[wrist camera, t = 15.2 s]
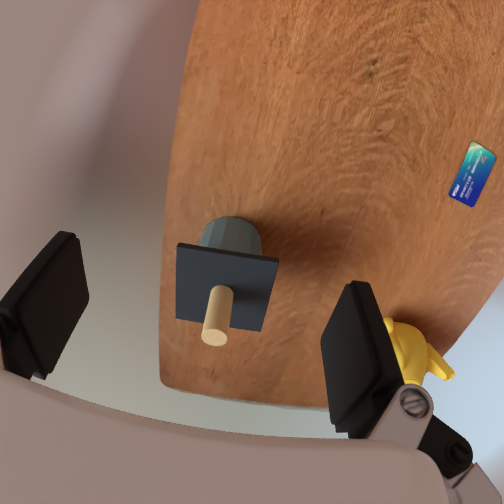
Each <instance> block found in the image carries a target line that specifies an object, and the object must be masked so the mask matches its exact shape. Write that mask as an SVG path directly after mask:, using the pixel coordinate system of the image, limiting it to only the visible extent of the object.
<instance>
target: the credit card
mask: <svg viewBox="0 0 504 504" xmlns="http://www.w3.org/2000/svg"><path fill="white" fill-rule="evenodd" d="M495 160H496V156H495V155H494V154H492V153H491V152H489V151H488V150H486V149H485V148H483V147H482V146H480V145H479V144H477V143H476V142H474V141H473V142H471V145H470V147H469V150H468V152H467V154H466V157H465V159H464V161H463V164H462V166H461V168H460V170H459V173H458V175H457V177H456V179H455V181H454V183H453V186H452V188H451V190H450V192H449V196H450V197H452V198H454V199H456V200H458V201H460V202H462V203H464V204H466V205H468V206H470V207H473V206H474V205H475V203H476V201H477V199H478V197H479V195H480V193H481V191H482V188H483V186H484V184H485V182H486V180H487V178H488V176H489V173H490V171H491V169H492V167H493V164H494V162H495Z"/></svg>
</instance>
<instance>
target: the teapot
mask: <svg viewBox="0 0 504 504" xmlns="http://www.w3.org/2000/svg"><path fill="white" fill-rule="evenodd" d="M383 321H384V323H385V325H386V327H387V330H388V333H389V336H390V338H391V341H392V344H393V347H394V350H395V354H396V357H397V360H398V363H399V366H400V369H401V373H402V376H403V379H404V382H405V384H409V383H412V384H417V385H419V386H421V385H422V383H423V379H424V376H425V372H426V370H427V371H429V372H431V373H433V374H435V375H436V376H438V377H440V378H442V379H444V381H446V380H449V379H452V378H453V377H454V375H455V372H454V371H453V370H452V369H451V367H450V366H449V365H448V364H447V363H446V362H445V360H444V359H443V358H442V357H441V356H440V355H439V353H438V352H437V351H436V350H435V349H434V348H433V347H432V346H431V344H430V343H426V341H425V338H424V336H423V334H422V333H421V332H420V331H419V330H418V329H417V328H416V327H414V326H411V325H408V324H405V323H400V322H393V320H392V318H390V317H385V318H383Z"/></svg>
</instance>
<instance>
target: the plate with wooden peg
mask: <svg viewBox="0 0 504 504" xmlns="http://www.w3.org/2000/svg"><path fill="white" fill-rule="evenodd" d="M278 265H279V259H278V258H273V257H266V256H260V255H254V254H247V253H241V252H235V251H229V250H222V249H216V248H210V247H204V246H197V245H191V244H185V243H178V245H177V255H176V318H177V319H183V320H188V321H194V322H200V323H204V326H203V331H202V339H203V341H204V342H206V343H207V344H209V345H212V346H221V345H224V344H225V343H226V342H227V340H228V333H229V327H231V328H237V329H244V330H251V331H259V332H261V328H262V325H263V321H264V317H265V314H266V310H267V306H268V303H269V299H270V295H271V291H272V288H273V284H274V280H275V276H276V272H277V269H278Z"/></svg>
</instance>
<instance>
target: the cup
mask: <svg viewBox="0 0 504 504" xmlns="http://www.w3.org/2000/svg"><path fill="white" fill-rule="evenodd" d="M197 246H204V247H210V248H216V249H222V250H229V251H235V252H241V253H247V254H254V255H260V256H262V242H261V237H260V235H259V233H258V231H257V230H256V228H255V227H254V226H253V225H251V224H250V223H249V222H247V221H245V220H243V219H240V218H237V217H222V218H218V219H216V220H214V221H212V222H210V223H209V224H208V225H207V226H206V227H205V228H204V230H203V232H202V234H201V236H200V238H199V241H198V244H197Z"/></svg>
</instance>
